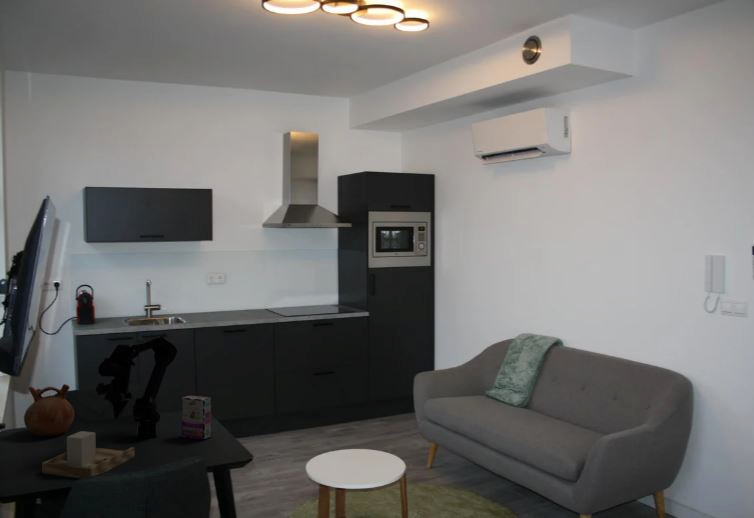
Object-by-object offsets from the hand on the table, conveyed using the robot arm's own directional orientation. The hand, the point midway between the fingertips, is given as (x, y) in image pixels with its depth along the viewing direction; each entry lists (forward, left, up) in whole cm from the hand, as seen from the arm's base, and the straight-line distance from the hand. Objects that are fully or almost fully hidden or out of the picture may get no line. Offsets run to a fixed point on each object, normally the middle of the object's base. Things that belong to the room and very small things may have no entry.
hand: (116, 418), depth 249 cm
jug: (+24, -33, -12) cm, 42 cm away
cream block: (+12, +16, -10) cm, 23 cm away
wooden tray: (+9, +13, -12) cm, 20 cm away
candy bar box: (-30, -4, -12) cm, 33 cm away
